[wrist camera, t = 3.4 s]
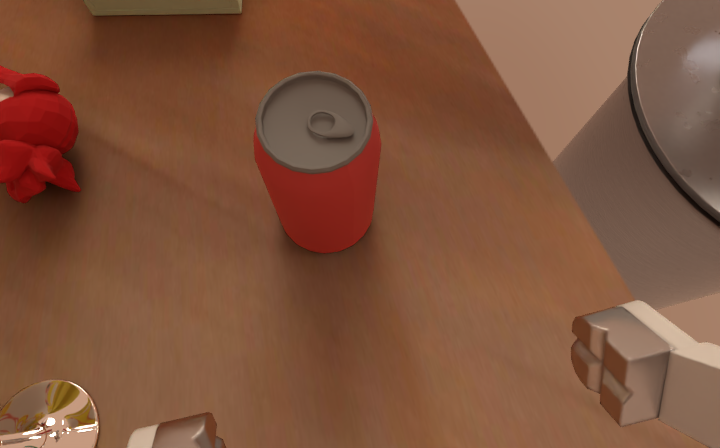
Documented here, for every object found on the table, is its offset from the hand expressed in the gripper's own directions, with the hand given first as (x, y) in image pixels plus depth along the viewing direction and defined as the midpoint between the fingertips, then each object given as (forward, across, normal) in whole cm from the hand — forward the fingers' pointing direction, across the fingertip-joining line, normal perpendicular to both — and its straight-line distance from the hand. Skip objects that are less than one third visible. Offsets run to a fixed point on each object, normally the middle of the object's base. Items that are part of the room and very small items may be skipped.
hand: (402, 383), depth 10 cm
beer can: (+23, 0, +6) cm, 24 cm away
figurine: (+31, +21, -2) cm, 37 cm away
